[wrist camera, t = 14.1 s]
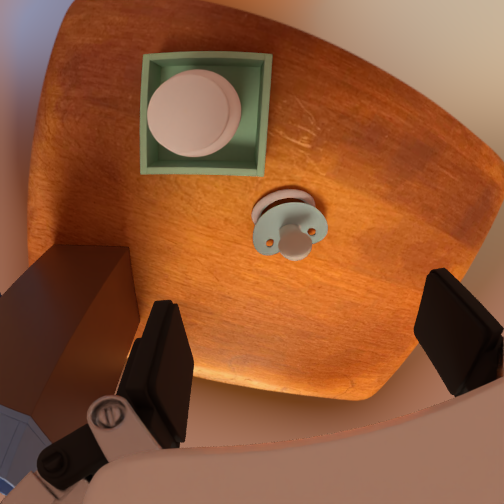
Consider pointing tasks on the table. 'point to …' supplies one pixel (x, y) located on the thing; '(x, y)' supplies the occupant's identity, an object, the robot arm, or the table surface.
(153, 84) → the green bin
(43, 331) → the blue bin
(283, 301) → the table surface
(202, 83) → the pill bottle
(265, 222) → the pacifier
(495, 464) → the robot arm
